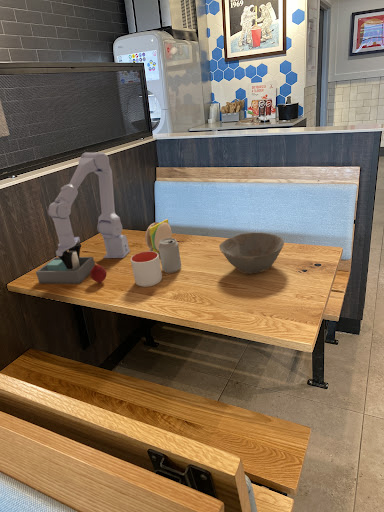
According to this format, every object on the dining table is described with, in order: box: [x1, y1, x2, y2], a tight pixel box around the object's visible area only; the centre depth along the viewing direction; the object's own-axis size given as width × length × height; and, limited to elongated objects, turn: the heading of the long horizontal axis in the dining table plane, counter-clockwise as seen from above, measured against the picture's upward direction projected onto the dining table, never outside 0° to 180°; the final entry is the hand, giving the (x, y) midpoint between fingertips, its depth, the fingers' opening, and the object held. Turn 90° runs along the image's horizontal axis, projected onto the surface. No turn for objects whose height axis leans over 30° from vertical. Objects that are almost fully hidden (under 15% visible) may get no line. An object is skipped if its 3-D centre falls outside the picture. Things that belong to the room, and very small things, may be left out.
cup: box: [130, 250, 163, 288], centre depth 142 cm, size 10×10×10 cm
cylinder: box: [67, 250, 80, 271], centre depth 154 cm, size 5×5×7 cm
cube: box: [46, 260, 67, 271], centre depth 157 cm, size 5×5×5 cm
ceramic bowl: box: [218, 232, 285, 274], centre depth 141 cm, size 22×23×10 cm
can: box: [158, 237, 182, 274], centre depth 149 cm, size 8×8×12 cm
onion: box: [89, 262, 108, 284], centre depth 146 cm, size 6×6×8 cm
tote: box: [35, 256, 95, 285], centre depth 156 cm, size 18×14×5 cm
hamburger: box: [144, 218, 173, 254], centre depth 169 cm, size 12×8×12 cm
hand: (73, 265), depth 154 cm, fingers closed on cylinder, 5 cm apart
